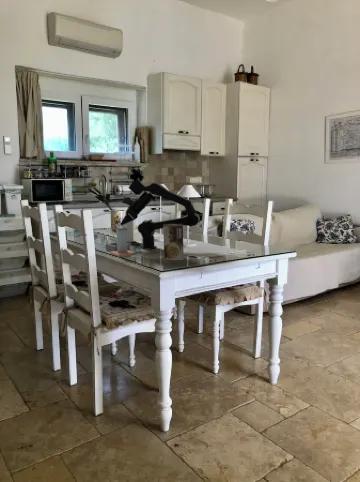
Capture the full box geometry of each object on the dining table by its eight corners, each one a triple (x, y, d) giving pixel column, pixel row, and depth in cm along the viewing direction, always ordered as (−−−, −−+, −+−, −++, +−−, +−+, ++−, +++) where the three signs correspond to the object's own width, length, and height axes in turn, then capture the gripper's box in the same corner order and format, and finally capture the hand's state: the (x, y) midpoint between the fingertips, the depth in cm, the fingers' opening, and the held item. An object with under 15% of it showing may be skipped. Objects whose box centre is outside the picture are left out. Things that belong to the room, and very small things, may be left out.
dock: (140, 253, 204) (140, 247, 203) (119, 256, 196) (118, 250, 195) (120, 247, 218) (120, 241, 218) (99, 250, 210) (99, 244, 210)
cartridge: (129, 251, 204) (128, 227, 202) (124, 253, 199) (124, 228, 197) (119, 250, 205) (119, 226, 203) (115, 252, 200) (114, 228, 198)
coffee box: (183, 257, 194) (182, 223, 191) (183, 260, 188) (183, 225, 185) (163, 257, 194) (163, 223, 191) (163, 260, 188) (163, 225, 184)
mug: (130, 239, 240) (130, 219, 237) (135, 241, 234) (135, 220, 232) (114, 241, 234) (114, 220, 232) (119, 243, 229) (118, 221, 226)
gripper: (131, 189, 220) (111, 210, 221) (130, 192, 201) (108, 214, 203) (146, 204, 222) (127, 224, 223) (146, 208, 203) (124, 230, 205)
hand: (121, 223), depth 213 cm, fingers open, 9 cm apart
